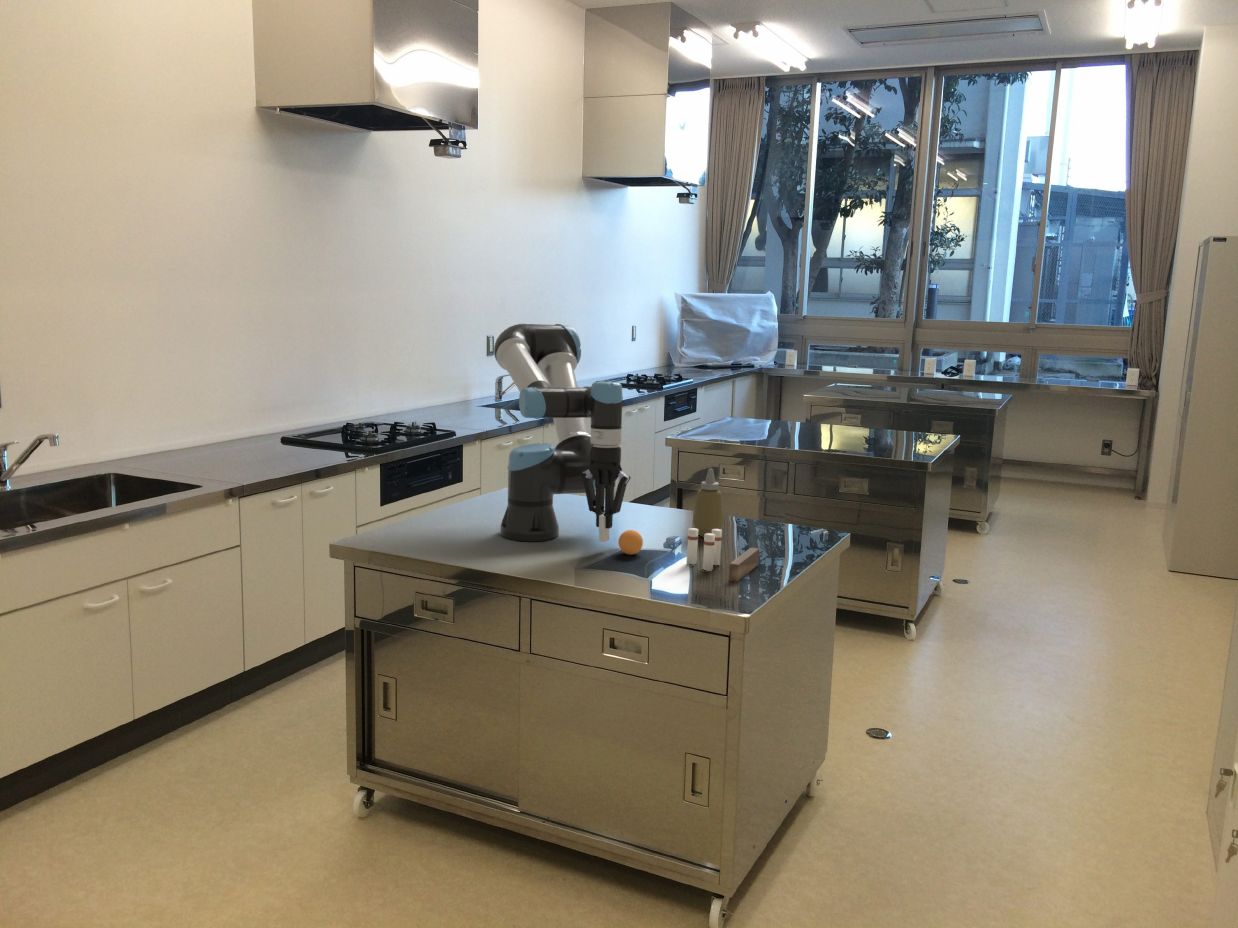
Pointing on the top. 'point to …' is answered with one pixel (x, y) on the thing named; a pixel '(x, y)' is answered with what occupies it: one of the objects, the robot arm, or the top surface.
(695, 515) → the squeeze bottle
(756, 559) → the wall
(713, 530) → the pin
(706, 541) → the pin
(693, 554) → the front pin
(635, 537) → the orange ball
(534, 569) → the top surface
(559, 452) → the robot arm
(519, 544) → the top surface
